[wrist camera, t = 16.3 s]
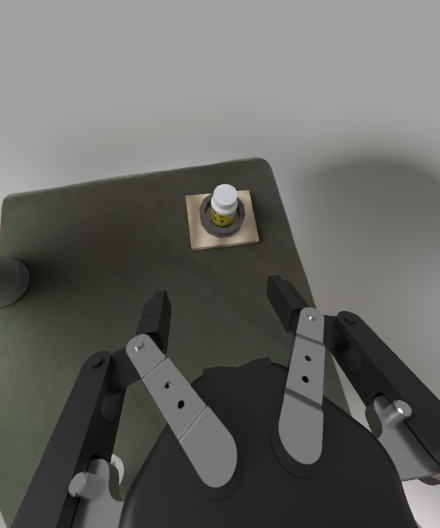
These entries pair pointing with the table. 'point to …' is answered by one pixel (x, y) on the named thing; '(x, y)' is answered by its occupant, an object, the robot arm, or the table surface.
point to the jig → (213, 236)
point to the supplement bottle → (223, 205)
